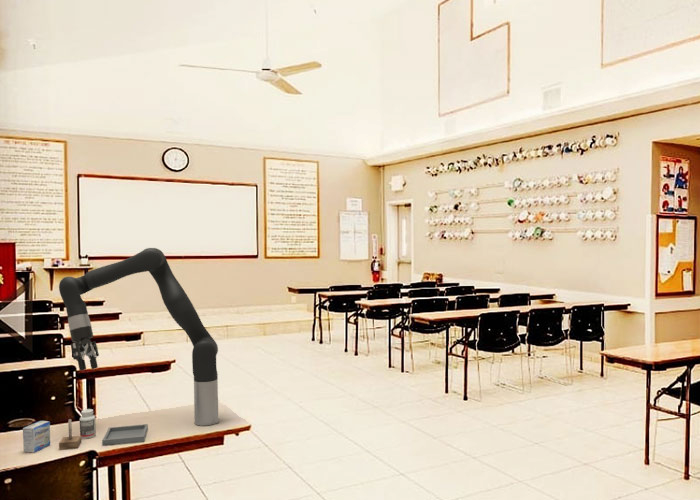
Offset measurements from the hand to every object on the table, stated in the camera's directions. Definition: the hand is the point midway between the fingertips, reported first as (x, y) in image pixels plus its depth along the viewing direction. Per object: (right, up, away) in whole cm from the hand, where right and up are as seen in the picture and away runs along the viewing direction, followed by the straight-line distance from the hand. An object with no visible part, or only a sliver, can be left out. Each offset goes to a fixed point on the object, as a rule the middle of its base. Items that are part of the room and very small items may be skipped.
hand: (89, 369), depth 209 cm
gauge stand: (-1, -25, -12) cm, 28 cm away
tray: (+16, -24, -4) cm, 29 cm away
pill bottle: (+1, -25, -2) cm, 25 cm away
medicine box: (-12, -25, -14) cm, 31 cm away
